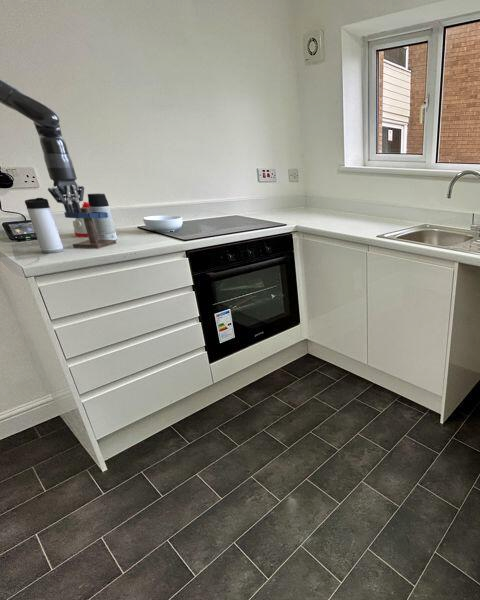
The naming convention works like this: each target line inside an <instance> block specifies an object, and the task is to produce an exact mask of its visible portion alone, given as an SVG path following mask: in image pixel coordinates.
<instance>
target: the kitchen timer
mask: <svg viewBox="0 0 480 600" xmlns="http://www.w3.org/2000/svg"><path fill="white" fill-rule="evenodd" d="M81 208H90V206H89V203H88V201H87V202H86V201H82V205H81ZM90 211H91V210H90ZM72 225H73V231H74V235H75V237H77V238H89V237H88V234H87V230H86V227H85V224H84V220H83V218H74V220H72ZM94 225H95V224H94ZM95 229H96V228H95ZM97 236H98V235H97Z"/></svg>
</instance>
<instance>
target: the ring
mask: <svg viewBox="0 0 480 600" xmlns="http://www.w3.org/2000/svg"><path fill="white" fill-rule="evenodd" d="M63 213H64V217H65V218H66V219H67V218H68V219H76V218H107V217H108V213H107V212H91V213H74V214H67V213H66V211H64V212H63Z"/></svg>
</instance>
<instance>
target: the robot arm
mask: <svg viewBox="0 0 480 600" xmlns="http://www.w3.org/2000/svg"><path fill="white" fill-rule="evenodd" d="M0 104H2V105H3V106H5V107H7V108H9V109H11V110H13V111H16V112H18V113H19V114H21V115H22V116H24V117H26V118H27V119H29V120H31V121H32V122H33V124H34V128H35V130H36V133H37V135H38V140H39V145H40V147H41V151H42V154H43V160H44V163H45V167H46V169H47V172H48V176H49V179H50V180H51V181H53V186H52V187H48V188H47V191H48V192H49V194H50V195H51V196H52V198H53V200H55V201H56V202H57V204H62V205H63V207H64V212H66V213H67V214H74V213H81V209H80V208H81V206H80V202H84V194H85V187H84V186H83V185H78V183H77V182H76V181H77V179H78V178H77V174H76V172H75V167H74V164H73V160H72V158H71V156H70V153H69V149H68V145H67V143H66V140H65V139H64V136H63V133H62V129H61V125H60V116H59V115H58V113H57V112H56V111H55V110H53V109H52V108H51V107H48V106H47V105H46V104H43V103H42V102H40V101H39V100H36V99H35V98H33V97H31V96H29V95H27V94H25V93H24V92H23V91H21V90H20V89H18V88H16V87H15V86H14V85H12V84H10V83H8V82H7V81H6V80H4V79H2V78H0Z"/></svg>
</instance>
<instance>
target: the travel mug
mask: <svg viewBox="0 0 480 600" xmlns="http://www.w3.org/2000/svg"><path fill="white" fill-rule="evenodd" d="M24 204H25V206H26V210H27V213H28V216H29V219H30V222H31V225H32V228H33V230H34V233H35V236H36V239H37V242H38V245H39V248H40V251H41V253H43V254H57V253H61V252H64V250H65V249H64V246H63V242H62V239H61V235H60V234H59V231H58V227H57V223H56V221H55V218H54V215H53V212H52V209H51V207H50V203H49V200H48V199H47V198H44V197H36V198H30V199H29V198H28V199H25V200H24Z"/></svg>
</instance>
